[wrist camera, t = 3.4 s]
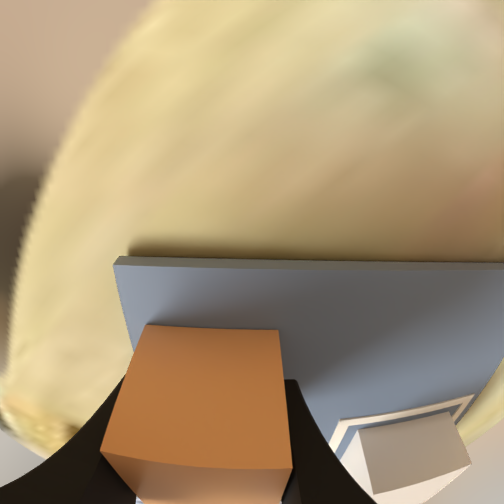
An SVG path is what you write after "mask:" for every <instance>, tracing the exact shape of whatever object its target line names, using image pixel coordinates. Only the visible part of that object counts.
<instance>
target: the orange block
mask: <svg viewBox="0 0 504 504" xmlns="http://www.w3.org/2000/svg"><path fill="white" fill-rule="evenodd" d="M100 452H101V453H102V454H103V456H104V457H105V458H106V459H107V461H108V462H109V463H110V465H111V466H112V467H113V468H114V470H115V471H116V472H117V473H118V474H119V476H120V477H121V478H122V479H123V480H124V482H125V483H126V484H127V485H128V486H129V487H130V488H131V490H132V491H133V492H134V493H135V494H136V495H137V496H138V497H139V498H140V499H141V501H142V502H143V503H144V504H279V503H280V500H281V498H282V495H283V492H284V490H285V487H286V485H287V482H288V479H289V477H290V474H291V471H292V468H293V467H292V456H291V446H290V435H289V425H288V415H287V405H286V396H285V386H284V377H283V367H282V358H281V349H280V340H279V331H278V330H250V329H214V328H192V327H174V326H159V325H146V324H145V326H144V329H143V331H142V334H141V336H140V339H139V341H138V344H137V346H136V349H135V351H134V354H133V357H132V359H131V362H130V365H129V367H128V370H127V373H126V375H125V378H124V381H123V383H122V386H121V389H120V392H119V394H118V397H117V400H116V403H115V406H114V409H113V412H112V415H111V418H110V420H109V423H108V426H107V430H106V433H105V436H104V439H103V442H102V445H101V448H100Z"/></svg>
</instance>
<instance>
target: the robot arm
mask: <svg viewBox="0 0 504 504" xmlns="http://www.w3.org/2000/svg"><path fill="white" fill-rule="evenodd" d="M125 375H126V374H125ZM125 375H124V377H123V378H122V379H121V381H120V382H119V383H118V385H117V386H116V387H115V389H114V390H113V391H112V393H111V394H110V395H109V396H108V398H107V399H106V400H105V401H104V403H103V404H102V405H101V406H100V407H99V409H98V410H97V411H96V412H95V413H94V415H93V416H92V417H91V418H90V419H89V420H88V421H87V422H86V424H85V425H84V426H83V427H82V428H81V429H80V430H79V431H78V432H77V433H76V434H75V435H74V436H73V437H72V438H71V439H70V440H69V441H68V442H67V443H66V444H65V445H64V446H63V447H61V448H60V449H59V450H58V451H57V452H56V453H54V454H53V455H52V456H51V457H49V458H48V459H47V460H46V461H44V462H43V463H42V464H40V465H39V466H37V467H36V468H34V469H33V470H31V471H30V472H28V473H26V474H25V475H23V476H22V477H20V478H18V479H16V480H14V481H12V482H10V483H8V484H6V485H4V486H2V487H0V504H136V494H135V493H134V492H133V491H132V490H131V488H130V487H129V486H128V485H127V484H126V483H125V482H124V480H123V479H122V478H121V477H120V476H119V474H118V473H117V472H116V471H115V470H114V468H113V467H112V466H111V465H110V463H109V462H108V461H107V459H106V458H105V457H104V456H103V454H102V453H101V452H100V448H101V445H102V442H103V439H104V436H105V433H106V430H107V426H108V423H109V420H110V418H111V415H112V412H113V409H114V406H115V403H116V400H117V397H118V394H119V392H120V389H121V386H122V383H123V381H124V378H125ZM284 386H285V396H286V405H287V415H288V425H289V435H290V446H291V456H292V467H293V468H292V471H291V474H290V477H289V479H288V482H287V485H286V487H285V490H284V492H283V495H282V498H281V501H280V503H279V504H377V503H376V502H375V501H374V500H373V499H372V498H371V497H370V496H369V495H368V494H367V493H366V492H365V491H364V490H363V489H362V487H361V486H360V485H359V484H358V483H357V482H356V481H355V479H354V478H353V477H352V476H351V475H350V474H349V472H348V471H347V470H346V468H345V467H344V466H343V465H342V463H341V462H340V460H339V459H338V458H337V456H336V455H335V453H334V452H333V450H332V449H331V447H330V446H329V444H328V443H327V441H326V439H325V438H324V436H323V434H322V433H321V431H320V429H319V427H318V426H317V424H316V422H315V420H314V418H313V416H312V414H311V412H310V410H309V408H308V406H307V404H306V402H305V400H304V397H303V395H302V393H301V390H300V387H299V385H298V382H297V381H296V380H295V379H284Z"/></svg>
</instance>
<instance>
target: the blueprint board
mask: <svg viewBox="0 0 504 504" xmlns="http://www.w3.org/2000/svg"><path fill="white" fill-rule="evenodd" d="M113 268H114V273H115V278H116V283H117V287H118V292H119V296H120V301H121V305H122V309H123V313H124V317H125V321H126V325H127V329H128V333H129V336H130V340H131V344H132V347H133V351H135V349H136V346H137V344H138V341H139V339H140V336H141V334H142V331H143V329H144V326H145V324H146V325H159V326H174V327H192V328H214V329H250V330H278V331H279V340H280V349H281V358H282V367H283V377H284V379H295V380H296V381H297V382H298V385H299V387H300V390H301V393H302V395H303V397H304V400H305V402H306V404H307V406H308V408H309V410H310V412H311V414H312V416H313V418H314V420H315V422H316V424H317V426H318V427H319V429H320V431H321V433H322V434H323V436H324V438H325V439H326V441H327V443H328V444H329V446H330V447H331V449H332V450H333V452H334V453H335V455H336V456H337V458H338V459H339V460H340V459H341V458H342V456H343V454H344V453H345V451H346V449H347V448H348V446H349V444H350V442H351V441H352V439H353V437H354V435H355V434H356V432H357V430H358V429H365V428H372V427H378V426H384V425H390V424H395V423H401V422H406V421H410V420H415V419H420V418H424V417H428V416H432V415H436V414H440V413H444V412H448V411H449V413H450V415H451V417H452V419H453V421H454V423H455V426H456V425H457V423H458V422H459V421H460V420H461V418H462V417H463V416H464V414H465V413H466V412H467V411H468V409H469V408H470V407H471V405H472V404H473V403H474V401H475V400H476V398H477V397H478V396H479V394H480V393H481V391H482V390H483V389H484V387H485V386H486V384H487V383H488V381H489V380H490V378H491V377H492V375H493V374H494V372H495V370H496V369H497V367H498V366H499V364H500V362H501V361H502V359H503V357H504V263H470V262H378V261H314V260H262V259H216V258H174V257H136V256H119V257H118V259H117V260H116V261H115V263H114V264H113Z"/></svg>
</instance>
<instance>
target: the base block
mask: <svg viewBox="0 0 504 504" xmlns="http://www.w3.org/2000/svg"><path fill="white" fill-rule="evenodd" d="M340 462H341V463H342V465H343V466H344V467H345V468H346V470H347V471H348V472H349V474H350V475H351V476H352V477H353V478H354V479H355V481H356V482H357V483H358V484H359V485H360V486H361V487H362V489H363V490H364V491H365V492H366V493H367V494H368V495H369V496H370V497H371V498H372V499H373V500H374V501H375V502H376V503H377V504H421V503H424V502H425V501H427V500H428V499H430V498H431V497H432V496H434V495H435V494H436V493H438V492H439V491H440V490H442V489H443V488H444V487H445V486H447V485H448V484H449V483H450V482H452V481H453V480H454V479H455V478H456V477H457V476H459V475H460V474H461V473H462V472H463V471H464V470H466V469H467V468H468V467H469V466H470V465H471V464H472V463H471V461H470V458H469V456H468V453H467V451H466V448H465V446H464V444H463V441H462V439H461V437H460V435H459V432H458V430H457V428H456V426H455V423H454V421H453V419H452V417H451V415H450V413H449V411H448V412H444V413H440V414H436V415H432V416H428V417H424V418H420V419H415V420H410V421H406V422H401V423H395V424H390V425H384V426H378V427H372V428H365V429H358V430H357V432H356V434H355V435H354V437H353V439H352V441H351V442H350V444H349V446H348V448H347V449H346V451H345V453H344V454H343V456H342V458H341V459H340Z"/></svg>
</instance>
